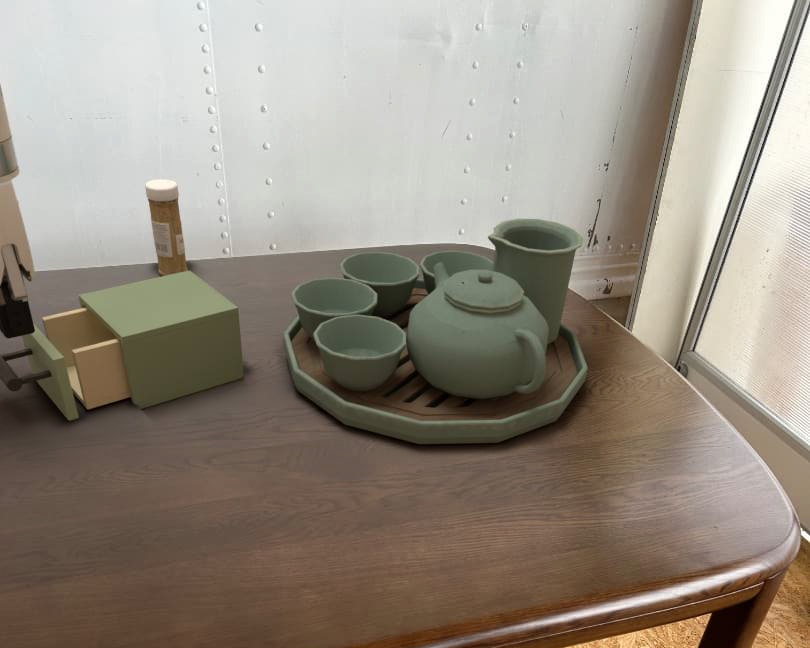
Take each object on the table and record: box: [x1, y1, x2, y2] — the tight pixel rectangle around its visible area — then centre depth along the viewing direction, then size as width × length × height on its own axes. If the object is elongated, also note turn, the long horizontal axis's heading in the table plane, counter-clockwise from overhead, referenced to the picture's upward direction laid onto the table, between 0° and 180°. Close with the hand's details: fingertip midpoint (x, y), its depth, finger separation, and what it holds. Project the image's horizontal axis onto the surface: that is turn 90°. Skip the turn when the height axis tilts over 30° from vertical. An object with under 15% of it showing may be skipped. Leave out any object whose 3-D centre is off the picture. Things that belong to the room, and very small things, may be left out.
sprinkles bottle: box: [145, 178, 189, 277], centre depth 119 cm, size 5×5×14 cm
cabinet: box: [78, 269, 245, 410], centre depth 98 cm, size 15×13×10 cm
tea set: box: [282, 218, 589, 445], centre depth 101 cm, size 40×40×16 cm
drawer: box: [0, 307, 131, 421], centre depth 92 cm, size 18×11×8 cm, turn 128°
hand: (18, 332), depth 87 cm, fingers closed
